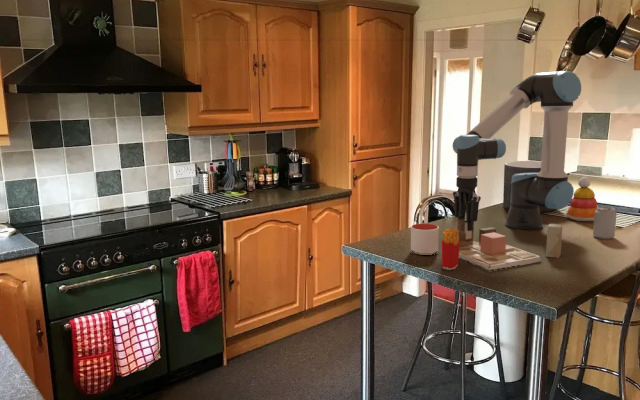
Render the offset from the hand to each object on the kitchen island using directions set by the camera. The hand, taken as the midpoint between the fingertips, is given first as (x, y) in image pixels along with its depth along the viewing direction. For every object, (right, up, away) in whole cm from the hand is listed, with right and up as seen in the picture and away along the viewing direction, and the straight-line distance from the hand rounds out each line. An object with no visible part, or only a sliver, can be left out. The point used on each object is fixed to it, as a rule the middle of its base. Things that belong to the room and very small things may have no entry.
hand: (465, 237), depth 197 cm
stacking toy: (+64, +5, +37) cm, 74 cm away
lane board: (+6, -6, -12) cm, 15 cm away
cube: (+6, -4, -14) cm, 15 cm away
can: (+57, -1, +7) cm, 57 cm away
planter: (+50, +10, +62) cm, 80 cm away
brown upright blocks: (+4, -4, -8) cm, 10 cm away
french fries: (-11, -9, -22) cm, 26 cm away
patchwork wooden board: (+6, -5, -12) cm, 14 cm away
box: (+28, -6, -13) cm, 31 cm away
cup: (-17, -5, -6) cm, 18 cm away
